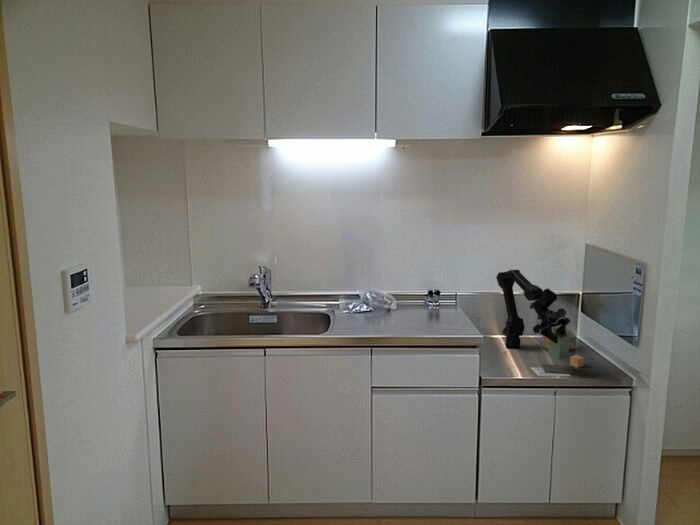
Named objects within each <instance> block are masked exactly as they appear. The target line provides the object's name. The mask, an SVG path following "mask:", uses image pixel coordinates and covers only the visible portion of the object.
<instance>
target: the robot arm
mask: <svg viewBox="0 0 700 525" xmlns="http://www.w3.org/2000/svg"><path fill="white" fill-rule="evenodd" d="M495 278H496V281H497V284H498V286H499V287H500V288H501V290H502V294H503V299H504V304H505V309H506V314H507V319H506V321H505V327H504V328H503V329H502V331H501V332H502V335H503V336H505V343H504V346H505V348H506V349H517V350H519V349H520V347H521V338H520V336H523V335H524V332H525V324H524V319H523V318H522V317H520V316H519V315H518V310H517V303H516V300H515V295H514V289H513V288H514V285H515V284H516V285H518V287H519V288H520V289H521V290H522V291H523V295H524V297H525V299H526V300H527V301H530V302H531V301H533V302H531V303H530V306H529V309H531V310H532V309H533V310H534V311H535V313H536V314H537V316H538V317H536V318H537V320H540V321H541V322H538V323H537V324H536V325H535V326H533V327H532V332H533V333H534V334H536V335H537V334H539V335H543V336H545V337H547V338H548V339H550V340H551V341H553V342H554V343H558V342H557V340H556V338H555V336H554V334H553V332H552V327H556V330H555V331H556V332H560V333H563V334H566V335H567V332H566V327H567V325H568V324H570V323H571V319H570V318H569V317H566V315H567V312H566V310H565V309H564V308H558V310H556V311H554V310H553V309H549V307H550V306H551V305H553V304H554V303H555V302H556V301H557V300H558V295H557V294H556V292H554V291H552V290H550V288H545V289H544V290H543V289H542V288H541V287H540V286H538V285H535V284H533V283H531V282H530V280H528V279H527V278H526V277H525V275H523V274H522V273H521V271H520V270H519V269H509V270H508V271H501V272H500V271H499V272H498V273H497V275H496V277H495ZM553 324H554V325H553Z"/></svg>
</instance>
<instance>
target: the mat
mask: <svg viewBox="0 0 700 525" xmlns="http://www.w3.org/2000/svg"><path fill="white" fill-rule="evenodd" d="M540 366H541V367H542V369H543V371H544V373H549V374H563V375H574V374H575V373H574V371H573V369H572V368H571V367H570V365H566V364H550V363H549V364H547V363H541V364H540Z"/></svg>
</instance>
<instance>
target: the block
mask: <svg viewBox="0 0 700 525" xmlns="http://www.w3.org/2000/svg"><path fill="white" fill-rule="evenodd" d="M569 357H570V358H569V359H570V360H569V366H571V367H572V366H573V367H576V368H580V367H584V362H585V357H583V356H581V355H577V354H575V355H571V356H569Z"/></svg>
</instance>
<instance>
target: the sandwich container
mask: <svg viewBox="0 0 700 525" xmlns="http://www.w3.org/2000/svg"><path fill="white" fill-rule="evenodd" d="M553 325H554V324H553ZM555 330H556V327H552V332H553V333H556V331H555ZM541 335H542V334H541ZM541 337H542V338H541V345H542V347H544V348H545V349H547V350H548V349H549V339H548V338H547V337H545V336H543V335H542V336H541ZM576 349H578V347H577V346H576V344H574V342H572V341H571V340H570V342H569V350H576Z"/></svg>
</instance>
